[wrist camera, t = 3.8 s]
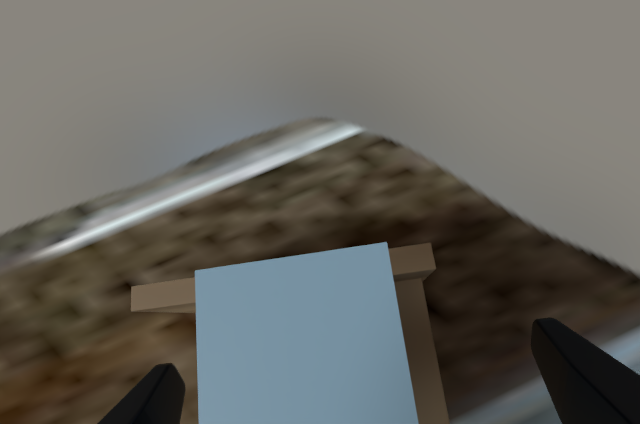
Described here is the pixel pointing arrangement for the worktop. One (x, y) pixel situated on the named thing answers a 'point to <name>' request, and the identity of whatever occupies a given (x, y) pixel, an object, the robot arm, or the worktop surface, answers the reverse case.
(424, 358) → the stand
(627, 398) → the robot arm
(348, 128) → the worktop surface
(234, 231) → the worktop surface
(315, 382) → the blue rectangular block
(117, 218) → the worktop surface
